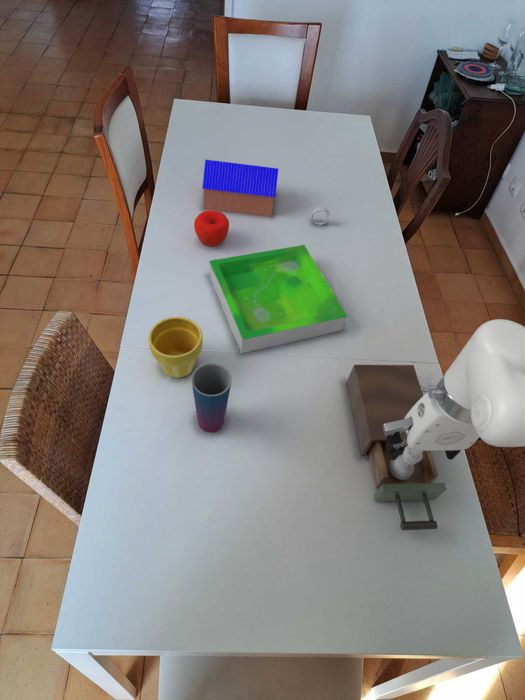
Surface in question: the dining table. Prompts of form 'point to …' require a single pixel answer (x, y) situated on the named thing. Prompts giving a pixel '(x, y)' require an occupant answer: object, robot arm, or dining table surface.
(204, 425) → the cup
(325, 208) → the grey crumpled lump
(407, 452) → the rook chess piece
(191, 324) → the flower pot
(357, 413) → the cabinet
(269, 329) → the tray
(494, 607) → the dining table surface
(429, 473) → the drawer
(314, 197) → the dining table surface
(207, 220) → the apple
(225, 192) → the house
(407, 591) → the dining table surface
